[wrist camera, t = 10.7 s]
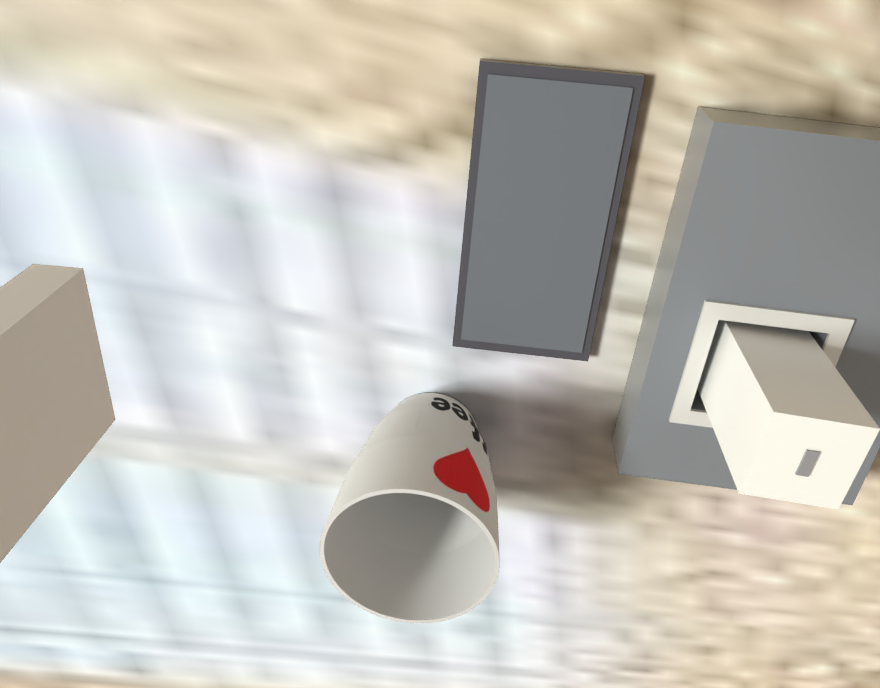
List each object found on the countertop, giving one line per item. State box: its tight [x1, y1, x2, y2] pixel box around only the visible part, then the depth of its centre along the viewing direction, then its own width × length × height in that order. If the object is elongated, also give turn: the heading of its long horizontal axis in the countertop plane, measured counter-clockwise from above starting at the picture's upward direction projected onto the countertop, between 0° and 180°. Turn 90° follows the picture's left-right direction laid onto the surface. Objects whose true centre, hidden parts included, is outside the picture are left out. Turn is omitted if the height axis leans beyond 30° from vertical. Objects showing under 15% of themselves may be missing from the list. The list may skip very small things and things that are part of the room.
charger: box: [697, 320, 880, 509], centre depth 33 cm, size 4×4×10 cm
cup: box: [320, 393, 500, 623], centre depth 38 cm, size 8×8×10 cm
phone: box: [453, 59, 645, 361], centre depth 35 cm, size 14×7×1 cm, turn 176°
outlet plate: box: [612, 107, 880, 505], centre depth 35 cm, size 18×12×3 cm, turn 175°
